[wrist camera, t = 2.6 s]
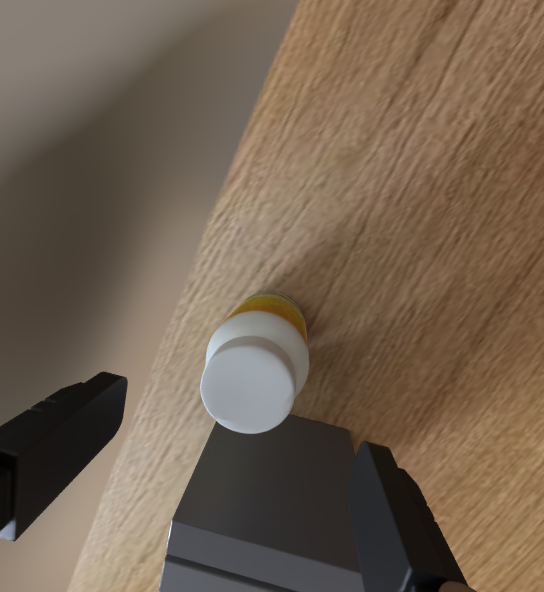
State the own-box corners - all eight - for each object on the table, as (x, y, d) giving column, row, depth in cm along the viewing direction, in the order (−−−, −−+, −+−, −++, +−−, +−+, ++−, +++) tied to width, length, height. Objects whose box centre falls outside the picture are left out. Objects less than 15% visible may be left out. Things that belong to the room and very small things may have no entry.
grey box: (216, 444, 23) (157, 591, 13) (226, 397, 22) (171, 520, 12) (333, 475, 23) (361, 651, 13) (348, 429, 22) (391, 582, 12)
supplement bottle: (308, 356, 21) (318, 448, 12) (239, 361, 22) (195, 453, 12) (301, 286, 20) (306, 324, 11) (229, 293, 21) (173, 336, 11)
